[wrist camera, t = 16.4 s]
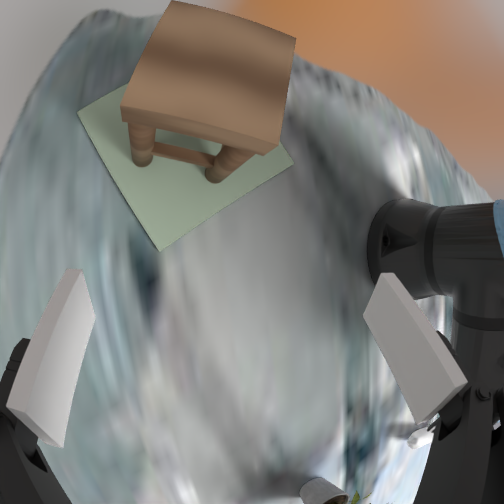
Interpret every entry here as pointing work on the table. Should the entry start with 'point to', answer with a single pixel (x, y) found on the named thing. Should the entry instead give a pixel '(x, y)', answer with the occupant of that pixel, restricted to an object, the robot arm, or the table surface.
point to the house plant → (325, 493)
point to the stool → (208, 88)
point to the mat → (170, 174)
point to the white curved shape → (420, 438)
